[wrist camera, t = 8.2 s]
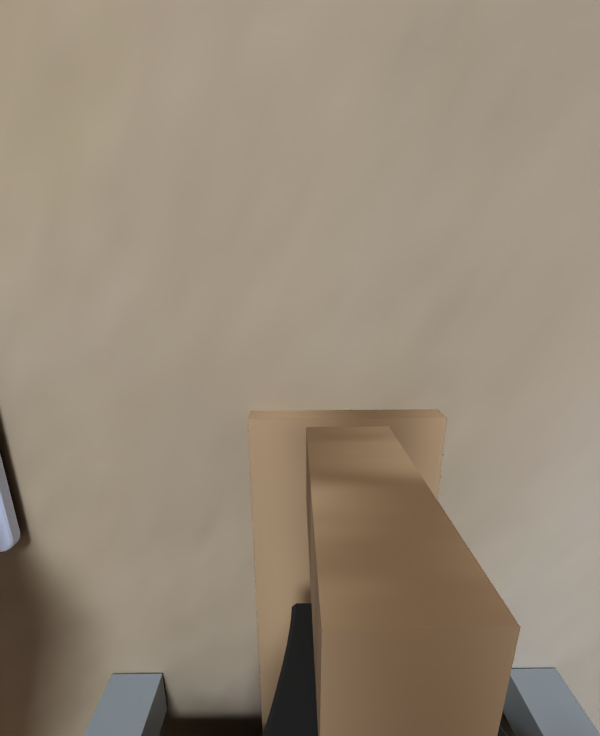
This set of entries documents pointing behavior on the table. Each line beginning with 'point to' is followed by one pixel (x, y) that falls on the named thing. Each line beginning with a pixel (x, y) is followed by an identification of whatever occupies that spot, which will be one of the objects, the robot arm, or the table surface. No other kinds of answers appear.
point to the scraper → (373, 575)
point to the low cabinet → (521, 707)
